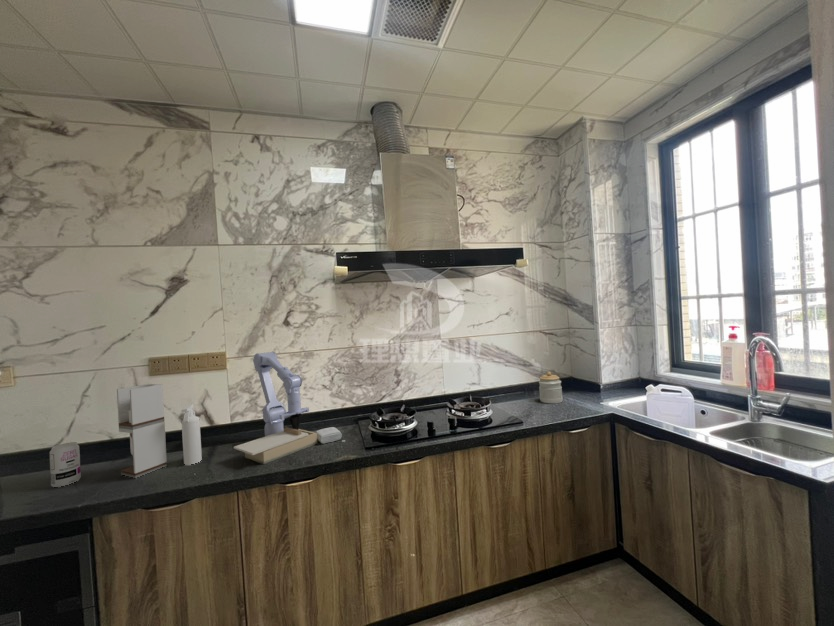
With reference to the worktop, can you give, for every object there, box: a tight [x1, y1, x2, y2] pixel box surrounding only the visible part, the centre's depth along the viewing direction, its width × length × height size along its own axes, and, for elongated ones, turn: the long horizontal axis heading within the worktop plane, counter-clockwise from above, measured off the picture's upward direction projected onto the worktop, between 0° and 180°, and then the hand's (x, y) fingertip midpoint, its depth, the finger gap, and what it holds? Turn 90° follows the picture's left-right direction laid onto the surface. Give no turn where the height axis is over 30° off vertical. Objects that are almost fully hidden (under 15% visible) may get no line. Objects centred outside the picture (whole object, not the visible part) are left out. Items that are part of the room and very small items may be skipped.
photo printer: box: [315, 426, 343, 444], centre depth 167 cm, size 10×4×12 cm
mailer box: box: [244, 428, 318, 465], centre depth 156 cm, size 16×26×5 cm, turn 143°
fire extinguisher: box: [181, 403, 203, 466], centre depth 150 cm, size 7×12×25 cm, turn 13°
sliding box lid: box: [233, 426, 308, 455], centre depth 152 cm, size 16×26×3 cm, turn 143°
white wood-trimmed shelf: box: [116, 383, 168, 479], centre depth 144 cm, size 11×11×35 cm
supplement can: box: [49, 441, 82, 488], centre depth 136 cm, size 8×8×15 cm
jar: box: [538, 371, 564, 404], centre depth 207 cm, size 13×13×18 cm
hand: (295, 430), depth 162 cm, fingers closed
